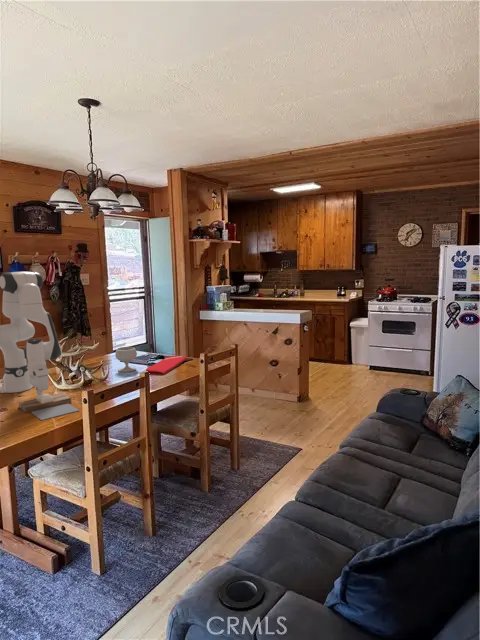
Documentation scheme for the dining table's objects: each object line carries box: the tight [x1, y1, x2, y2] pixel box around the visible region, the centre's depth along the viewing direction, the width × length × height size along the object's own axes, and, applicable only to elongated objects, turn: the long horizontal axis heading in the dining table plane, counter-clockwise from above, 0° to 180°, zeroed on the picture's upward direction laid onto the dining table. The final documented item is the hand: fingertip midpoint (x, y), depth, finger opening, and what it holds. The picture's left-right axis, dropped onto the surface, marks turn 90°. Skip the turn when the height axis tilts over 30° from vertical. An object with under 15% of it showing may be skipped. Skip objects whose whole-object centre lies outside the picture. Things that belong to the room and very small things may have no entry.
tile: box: [35, 392, 54, 404], centre depth 223 cm, size 9×6×2 cm, turn 42°
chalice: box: [115, 346, 138, 373], centre depth 290 cm, size 14×14×15 cm
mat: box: [30, 403, 80, 421], centre depth 213 cm, size 15×18×1 cm
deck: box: [18, 392, 72, 414], centre depth 223 cm, size 12×22×2 cm, turn 132°
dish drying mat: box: [144, 355, 188, 376], centre depth 297 cm, size 16×41×4 cm, turn 165°
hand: (39, 395), depth 229 cm, fingers closed
